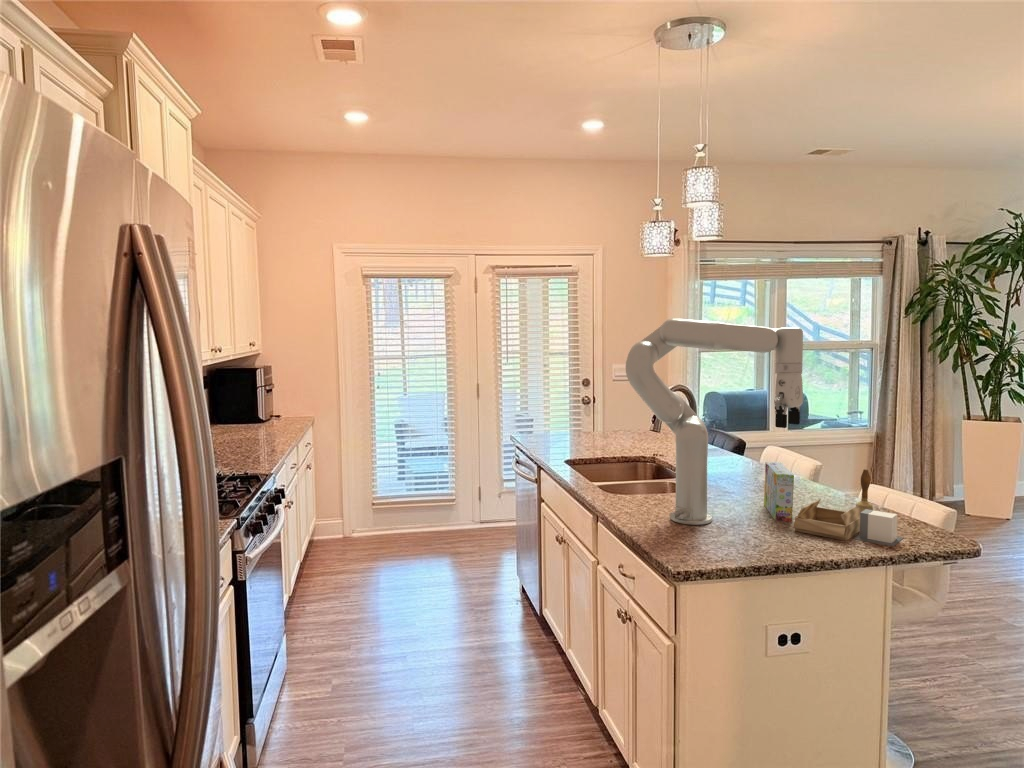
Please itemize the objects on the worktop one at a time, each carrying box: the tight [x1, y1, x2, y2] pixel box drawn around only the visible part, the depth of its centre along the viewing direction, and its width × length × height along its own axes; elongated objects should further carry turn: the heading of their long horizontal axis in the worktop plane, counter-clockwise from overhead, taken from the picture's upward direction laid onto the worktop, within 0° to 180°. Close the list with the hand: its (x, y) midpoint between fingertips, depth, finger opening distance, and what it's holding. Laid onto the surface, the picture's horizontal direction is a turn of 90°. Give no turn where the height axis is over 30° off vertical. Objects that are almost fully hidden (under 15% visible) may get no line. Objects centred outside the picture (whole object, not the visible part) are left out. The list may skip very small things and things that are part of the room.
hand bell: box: [855, 469, 874, 512], centre depth 204 cm, size 8×8×16 cm
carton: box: [793, 498, 861, 541], centre depth 194 cm, size 20×14×7 cm
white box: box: [859, 509, 898, 543], centre depth 185 cm, size 5×8×7 cm, turn 46°
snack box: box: [763, 461, 795, 522], centre depth 213 cm, size 21×6×15 cm, turn 168°
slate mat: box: [853, 533, 904, 547], centre depth 185 cm, size 10×10×1 cm
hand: (787, 425), depth 199 cm, fingers open, 9 cm apart
